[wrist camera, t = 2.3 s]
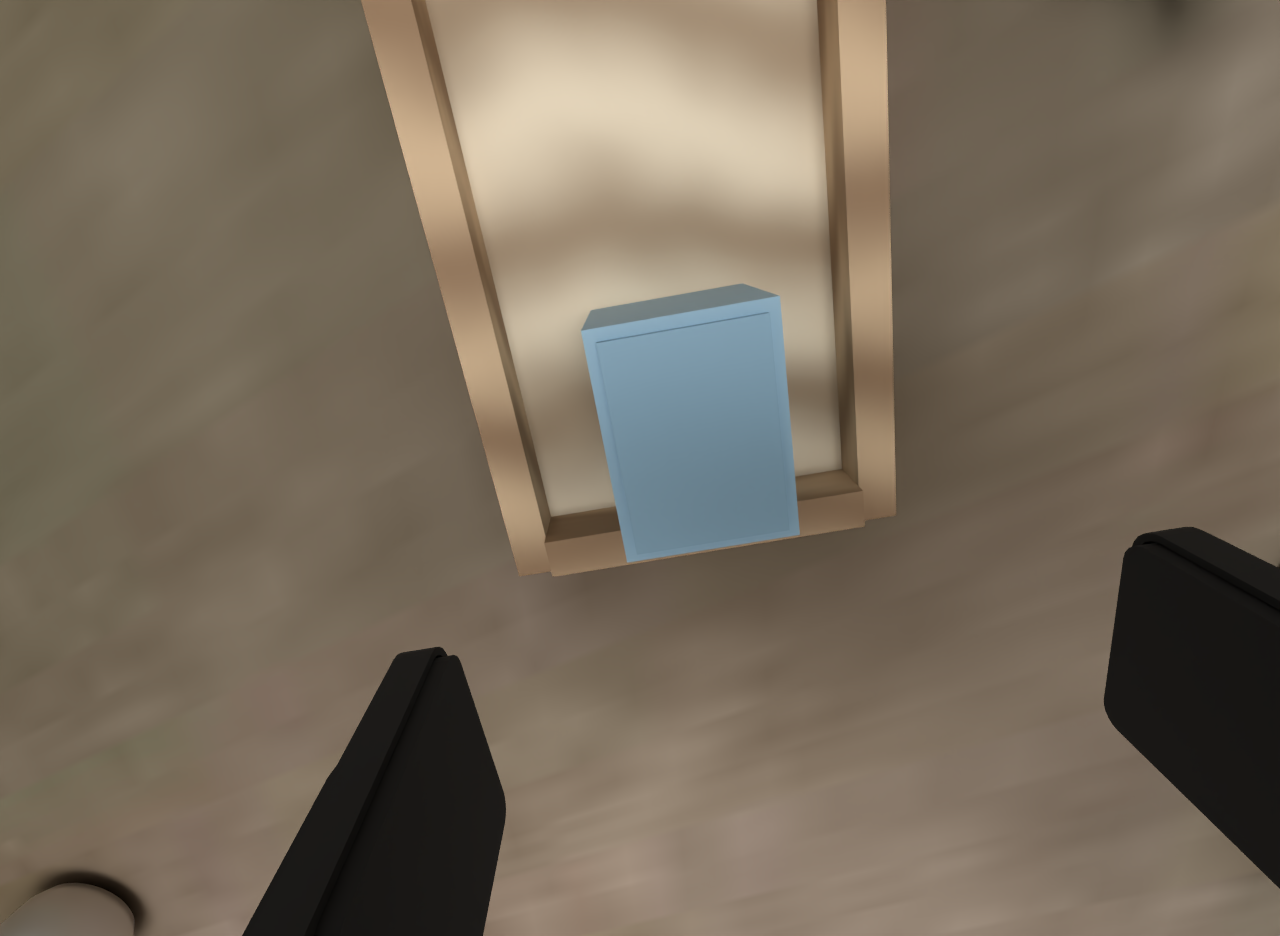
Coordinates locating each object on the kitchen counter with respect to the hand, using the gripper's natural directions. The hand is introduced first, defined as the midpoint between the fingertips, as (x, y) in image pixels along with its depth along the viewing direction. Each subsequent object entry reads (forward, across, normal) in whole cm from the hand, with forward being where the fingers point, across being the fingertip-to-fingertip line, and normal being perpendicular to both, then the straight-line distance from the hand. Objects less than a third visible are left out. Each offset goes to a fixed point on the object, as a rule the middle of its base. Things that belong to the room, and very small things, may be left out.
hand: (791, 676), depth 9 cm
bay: (+19, 0, -6) cm, 19 cm away
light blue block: (+18, 0, 0) cm, 18 cm away
